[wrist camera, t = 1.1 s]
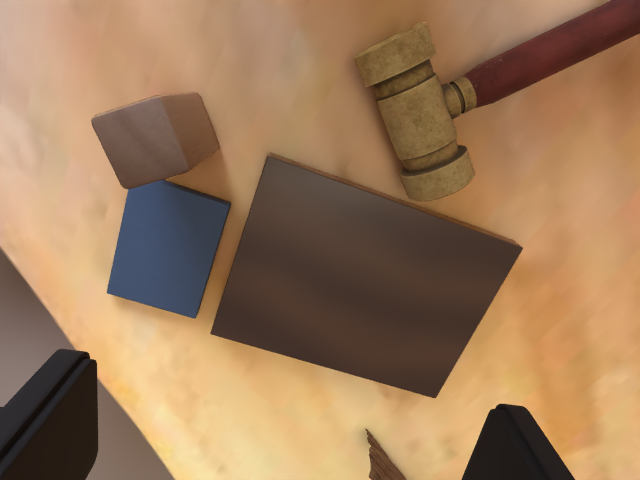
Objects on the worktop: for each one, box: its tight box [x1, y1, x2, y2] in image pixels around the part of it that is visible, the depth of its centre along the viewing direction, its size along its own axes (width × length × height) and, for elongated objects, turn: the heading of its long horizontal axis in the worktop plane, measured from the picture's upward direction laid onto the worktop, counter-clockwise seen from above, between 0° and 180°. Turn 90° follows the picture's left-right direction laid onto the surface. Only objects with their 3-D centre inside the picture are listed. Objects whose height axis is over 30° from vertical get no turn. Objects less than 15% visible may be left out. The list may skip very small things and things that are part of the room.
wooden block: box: [91, 92, 219, 189], centre depth 25 cm, size 4×4×8 cm
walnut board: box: [210, 153, 523, 398], centre depth 32 cm, size 15×20×2 cm
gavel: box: [354, 0, 640, 201], centre depth 26 cm, size 21×5×10 cm
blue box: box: [107, 180, 231, 319], centre depth 31 cm, size 10×7×1 cm
